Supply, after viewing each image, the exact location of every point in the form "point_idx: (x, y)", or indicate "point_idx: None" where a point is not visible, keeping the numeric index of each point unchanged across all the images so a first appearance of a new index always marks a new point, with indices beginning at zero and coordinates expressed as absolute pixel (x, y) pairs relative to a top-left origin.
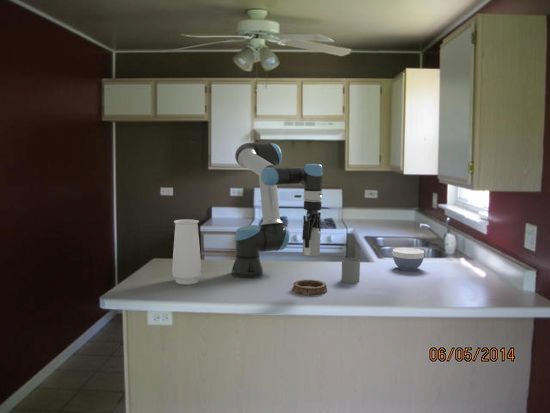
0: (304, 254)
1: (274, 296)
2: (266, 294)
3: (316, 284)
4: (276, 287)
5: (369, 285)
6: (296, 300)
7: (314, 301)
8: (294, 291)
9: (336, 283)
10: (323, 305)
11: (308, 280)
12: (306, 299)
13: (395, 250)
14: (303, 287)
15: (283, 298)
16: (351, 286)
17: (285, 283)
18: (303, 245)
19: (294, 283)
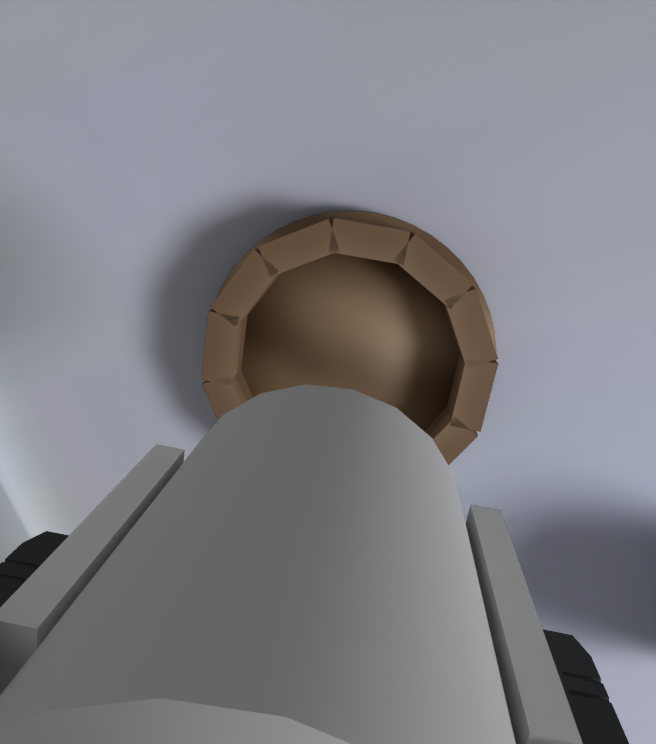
0: (154, 451)
1: (80, 121)
2: (103, 29)
3: (450, 399)
4: (352, 39)
5: (630, 729)
6: (61, 320)
7: (95, 442)
8: (248, 252)
9: (635, 515)
10: (41, 509)
11: (460, 334)
12: (115, 382)
13: None
14: (210, 345)
15: (63, 211)
16: (568, 623)
17: (522, 80)
18: (173, 482)
19: (308, 235)
